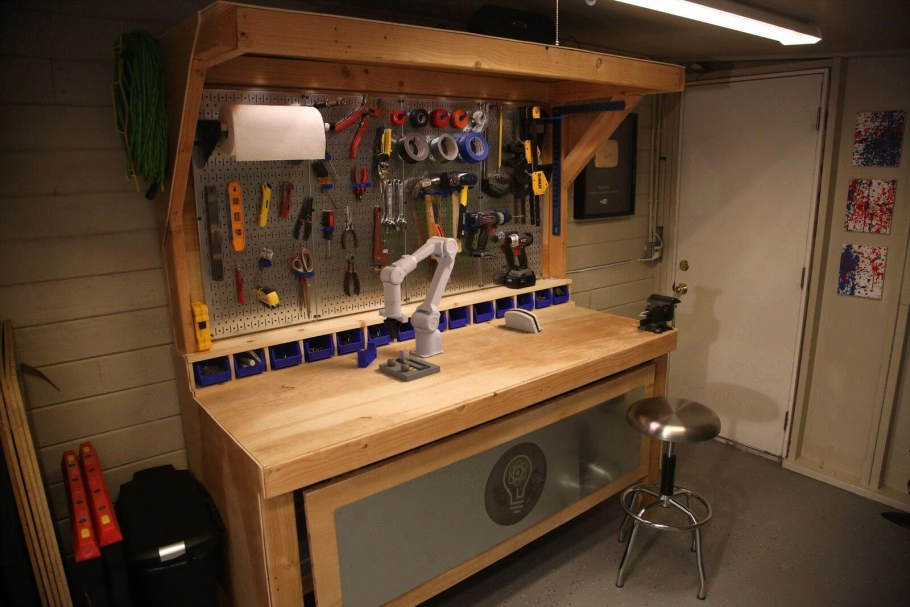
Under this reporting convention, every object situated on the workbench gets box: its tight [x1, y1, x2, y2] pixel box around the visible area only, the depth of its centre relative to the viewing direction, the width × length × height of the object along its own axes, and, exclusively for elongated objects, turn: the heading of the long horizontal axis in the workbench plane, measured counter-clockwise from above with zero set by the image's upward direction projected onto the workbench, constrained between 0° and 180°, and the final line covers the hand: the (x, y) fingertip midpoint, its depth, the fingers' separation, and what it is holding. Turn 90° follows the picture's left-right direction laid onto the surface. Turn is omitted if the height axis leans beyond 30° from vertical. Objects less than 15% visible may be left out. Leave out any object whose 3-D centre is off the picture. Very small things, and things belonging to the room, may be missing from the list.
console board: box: [378, 355, 441, 383], centre depth 208 cm, size 14×16×4 cm
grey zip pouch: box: [503, 307, 544, 334], centre depth 257 cm, size 17×5×10 cm, turn 44°
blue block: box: [356, 341, 378, 369], centre depth 218 cm, size 12×4×6 cm, turn 169°
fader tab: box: [399, 348, 410, 362], centre depth 212 cm, size 3×2×4 cm
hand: (393, 338), depth 215 cm, fingers closed
